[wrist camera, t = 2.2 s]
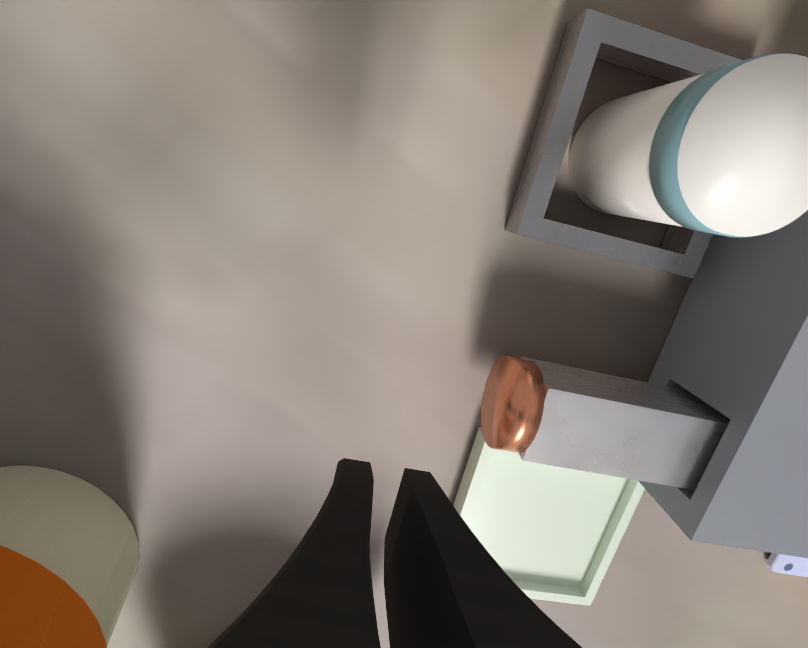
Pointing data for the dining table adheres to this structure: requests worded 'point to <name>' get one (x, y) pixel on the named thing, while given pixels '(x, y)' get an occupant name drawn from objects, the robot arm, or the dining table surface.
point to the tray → (545, 521)
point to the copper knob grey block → (599, 422)
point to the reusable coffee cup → (61, 560)
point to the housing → (746, 391)
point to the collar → (555, 124)
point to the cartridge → (703, 150)
